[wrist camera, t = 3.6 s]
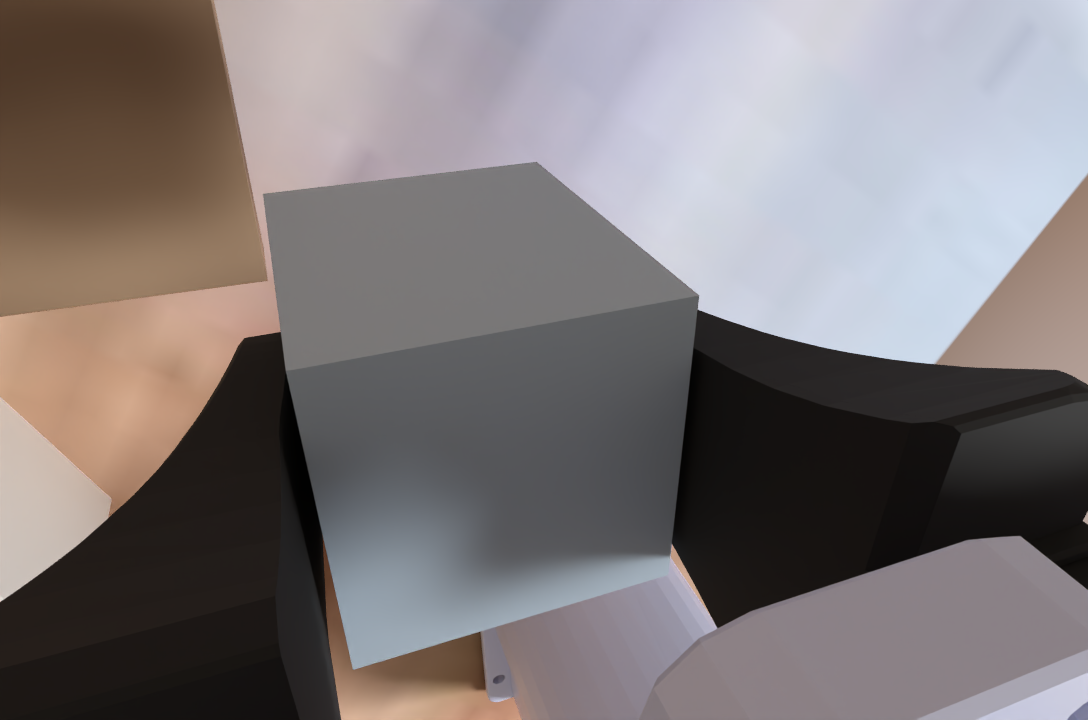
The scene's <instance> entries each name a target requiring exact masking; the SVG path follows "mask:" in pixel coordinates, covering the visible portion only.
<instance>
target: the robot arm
mask: <svg viewBox="0 0 1088 720" xmlns="http://www.w3.org/2000/svg"><path fill="white" fill-rule="evenodd" d="M1087 511H1088V385H1087V384H1086V383H1084V382H1082V381H1080V380H1078V379H1077V378H1075V377H1073V376H1071V375H1069V374H1067V373H1064V372H1061V371H1058V370H1037V369H1035V370H1034V369H1001V368H1000V369H999V368H971V367H958V366H947V365H936V364H924V363H915V362H907V361H899V360H891V359H884V358H878V357H872V356H866V355H860V354H854V353H847V352H842V351H837V350H832V349H827V348H822V347H818V346H814V345H810V344H806V343H802V342H798V341H794V340H790V339H785V338H782V337H778V336H774V335H771V334H767V333H764V332H761V331H758V330H755V329H751V328H748V327H745V326H742V325H739V324H736V323H733V322H730V321H727V320H724V319H721V318H719V317H716V316H713V315H710V314H708V313H705V312H702V311H699V310H697V318H696V328H695V337H694V346H693V355H692V364H691V373H690V382H689V391H688V400H687V409H686V418H685V427H684V436H683V445H682V454H681V464H680V473H679V482H678V491H677V500H676V509H675V518H674V527H673V536H672V544H673V546H674V548H675V550H676V552H677V553H678V555H679V557H680V559H681V561H682V562H683V564H684V566H685V568H686V570H687V572H688V573H689V575H690V577H691V579H692V581H693V583H694V584H695V586H696V588H697V590H698V592H699V594H700V596H701V598H702V599H703V601H704V603H705V605H706V607H707V609H708V611H709V613H710V615H711V616H710V615H709V613H708V612H707V610H706V609H705V607H704V606H703V604H702V603H701V601H700V600H699V598H698V597H697V596H696V594H695V593H694V591H693V590H692V588H691V587H690V585H689V584H688V582H687V581H686V579H685V578H684V576H683V575H682V574H681V572H680V571H679V569H678V568H677V566H676V565H675V563H674V562H673V560H672V559H671V554H670V563H669V572H668V575H666V576H663V577H660V578H656V579H653V580H650V581H646V582H643V583H640V584H636V585H633V586H630V587H626V588H623V589H620V590H616V591H613V592H610V593H607V594H603V595H600V596H597V597H593V598H590V599H587V600H583V601H580V602H577V603H573V604H570V605H567V606H563V607H560V608H557V609H553V610H550V611H547V612H543V613H540V614H537V615H534V616H530V617H527V618H524V619H520V620H517V621H514V622H510V623H507V624H504V625H500V626H497V627H494V628H490V629H487V630H484V631H480V632H481V642H482V653H483V663H484V674H485V685H486V692H487V695H488V698H489V700H490V701H492V702H499V701H503V700H506V699H509V698H512V697H514V699H515V702H516V705H517V707H518V710H519V713H520V716H521V718H522V720H1088V524H1086V523H1085V522H1083V519H1084V517H1085V515H1086V513H1087ZM671 547H672V545H671ZM711 617H712V618H711ZM0 720H341V716H340V710H339V704H338V698H337V691H336V685H335V678H334V672H333V666H332V659H331V653H330V647H329V639H328V628H327V618H326V600H325V579H324V558H323V537H322V530H321V525H320V521H319V516H318V512H317V507H316V503H315V499H314V494H313V490H312V485H311V481H310V476H309V472H308V467H307V463H306V459H305V454H304V450H303V445H302V441H301V436H300V432H299V427H298V423H297V419H296V414H295V410H294V405H293V401H292V396H291V392H290V387H289V383H288V378H287V374H286V368H285V361H284V353H283V345H282V337H281V332H278V333H272V334H266V335H260V336H254V337H248V338H244V339H243V341H242V342H241V343H240V344H239V346H238V347H237V350H236V352H235V354H234V356H233V358H232V360H231V362H230V364H229V366H228V368H227V370H226V372H225V373H224V375H223V377H222V379H221V381H220V382H219V384H218V386H217V388H216V389H215V391H214V392H213V394H212V396H211V397H210V399H209V400H208V402H207V404H206V405H205V407H204V409H203V410H202V412H201V413H200V415H199V416H198V418H197V419H196V421H195V422H194V423H193V425H192V426H191V427H190V429H189V430H188V432H187V433H186V434H185V436H184V437H183V438H182V440H181V441H180V442H179V444H178V445H177V447H176V448H175V449H174V451H173V452H172V453H171V454H170V456H169V457H168V458H167V459H166V461H165V462H164V463H163V464H162V465H161V467H160V468H159V469H158V470H157V471H156V472H155V473H154V474H153V475H152V477H151V478H150V479H149V480H148V481H147V482H146V483H145V484H144V485H143V486H142V487H141V488H140V489H139V490H138V491H137V492H136V493H135V494H134V495H133V496H132V497H131V498H130V499H129V500H128V501H127V502H126V503H125V504H124V505H122V506H121V507H120V508H119V509H118V510H117V511H116V512H115V513H113V514H112V515H111V516H110V517H109V518H108V519H107V520H106V521H104V522H103V523H102V524H101V525H100V526H99V527H98V528H97V529H95V530H94V531H93V532H92V533H91V534H90V535H89V536H88V537H86V538H85V539H84V540H83V541H82V542H81V543H79V544H78V545H77V546H76V547H74V548H73V549H72V550H71V551H69V552H68V553H67V554H65V555H64V556H63V557H62V558H60V559H59V560H58V561H56V562H55V563H54V564H53V565H51V566H50V567H49V568H47V569H46V570H45V571H43V572H42V573H40V574H39V575H38V576H36V577H35V578H33V579H32V580H31V581H29V582H28V583H27V584H25V585H24V586H22V587H21V588H20V589H18V590H17V591H15V592H14V593H13V594H11V595H10V596H8V597H7V598H5V599H4V600H2V601H1V602H0Z"/></svg>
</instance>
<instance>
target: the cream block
mask: <svg viewBox="0 0 1088 720" xmlns="http://www.w3.org/2000/svg"><path fill="white" fill-rule="evenodd" d="M111 500H112V499H111V498H110V497H109V496H108V495H107V494H106V493H105V492H104V491H103V490H102V489H101V488H99V487H98V486H97V485H96V484H95V483H94V482H93V481H92V480H91V479H90V478H89V477H87V476H86V475H85V474H84V473H83V472H82V471H81V470H80V469H79V468H78V467H76V466H75V465H74V464H73V463H72V462H71V461H70V460H69V459H68V458H67V457H66V456H64V455H63V454H62V453H61V452H60V451H59V450H58V449H57V448H56V447H55V446H54V445H52V444H51V443H50V442H49V441H48V440H47V439H46V438H45V437H44V436H43V435H41V434H40V433H39V432H38V431H37V430H36V429H35V428H34V427H33V426H32V425H31V424H29V423H28V422H27V421H26V420H25V419H24V418H23V417H22V416H21V415H20V414H19V413H17V412H16V411H15V410H14V409H13V408H12V407H11V406H10V405H9V404H8V403H6V402H5V401H4V400H3V399H2V398H1V397H0V602H1V601H2V600H4V599H5V598H7V597H8V596H10V595H11V594H13V593H14V592H15V591H17V590H18V589H20V588H21V587H22V586H24V585H25V584H27V583H28V582H29V581H31V580H32V579H33V578H35V577H36V576H38V575H39V574H40V573H42V572H43V571H45V570H46V569H47V568H49V567H50V566H51V565H53V564H54V563H55V562H56V561H58V560H59V559H60V558H62V557H63V556H64V555H65V554H67V553H68V552H69V551H71V550H72V549H73V548H74V547H76V546H77V545H78V544H79V543H81V542H82V541H83V540H84V539H85V538H86V537H88V536H89V535H90V534H91V533H92V532H93V531H94V530H95V529H97V528H98V527H99V526H100V525H101V524H102V523H103V522H104V521H106V520H107V519H108V516H109V511H110V506H111Z"/></svg>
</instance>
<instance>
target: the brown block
mask: <svg viewBox="0 0 1088 720" xmlns="http://www.w3.org/2000/svg"><path fill="white" fill-rule="evenodd" d="M262 281H267V272H266V264H265V256H264V248H263V243H262V238H261V233H260V228H259V223H258V218H257V213H256V209H255V204H254V199H253V194H252V189H251V184H250V179H249V174H248V169H247V164H246V159H245V154H244V149H243V144H242V139H241V134H240V129H239V124H238V119H237V114H236V109H235V104H234V99H233V94H232V89H231V84H230V79H229V74H228V69H227V64H226V59H225V54H224V49H223V44H222V39H221V34H220V29H219V24H218V19H217V14H216V9H215V4H214V0H0V317H3V316H10V315H17V314H25V313H32V312H40V311H47V310H55V309H62V308H69V307H77V306H84V305H92V304H99V303H106V302H114V301H121V300H129V299H136V298H143V297H151V296H158V295H166V294H173V293H181V292H188V291H195V290H203V289H210V288H218V287H225V286H232V285H240V284H247V283H255V282H262Z"/></svg>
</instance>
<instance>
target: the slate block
mask: <svg viewBox="0 0 1088 720" xmlns="http://www.w3.org/2000/svg"><path fill="white" fill-rule="evenodd" d="M263 197H264V205H265V213H266V220H267V228H268V236H269V244H270V252H271V259H272V267H273V275H274V283H275V290H276V298H277V306H278V314H279V322H280V329H281V337H282V345H283V353H284V361H285V368H286V374H287V378H288V383H289V387H290V392H291V396H292V401H293V405H294V410H295V414H296V419H297V423H298V427H299V432H300V436H301V441H302V445H303V450H304V454H305V459H306V463H307V467H308V472H309V476H310V481H311V485H312V490H313V494H314V499H315V503H316V507H317V512H318V516H319V521H320V525H321V530H322V534H323V539H324V543H325V548H326V552H327V556H328V561H329V565H330V570H331V574H332V579H333V583H334V588H335V592H336V596H337V601H338V605H339V610H340V614H341V619H342V623H343V628H344V632H345V636H346V641H347V645H348V650H349V654H350V659H351V663H352V668H353V670H354V669H358V668H361V667H364V666H368V665H371V664H374V663H378V662H381V661H384V660H388V659H391V658H394V657H398V656H401V655H404V654H407V653H411V652H414V651H417V650H421V649H424V648H427V647H431V646H434V645H437V644H441V643H444V642H447V641H451V640H454V639H457V638H461V637H464V636H467V635H471V634H474V633H477V632H480V631H484V630H487V629H490V628H494V627H497V626H500V625H504V624H507V623H510V622H514V621H517V620H520V619H524V618H527V617H530V616H534V615H537V614H540V613H543V612H547V611H550V610H553V609H557V608H560V607H563V606H567V605H570V604H573V603H577V602H580V601H583V600H587V599H590V598H593V597H597V596H600V595H603V594H607V593H610V592H613V591H616V590H620V589H623V588H626V587H630V586H633V585H636V584H640V583H643V582H646V581H650V580H653V579H656V578H660V577H663V576H666V575H668V572H669V563H670V554H671V545H672V536H673V527H674V518H675V509H676V500H677V491H678V482H679V473H680V464H681V454H682V445H683V436H684V427H685V418H686V409H687V400H688V391H689V382H690V373H691V364H692V355H693V346H694V337H695V328H696V318H697V309H698V300H699V295H698V294H697V293H695V292H694V291H693V290H692V289H691V288H689V287H688V286H687V285H686V284H684V283H683V282H682V281H681V280H680V279H678V278H677V277H676V276H675V275H673V274H672V273H671V272H670V271H669V270H667V269H666V268H665V267H664V266H663V265H661V264H660V263H659V262H658V261H656V260H655V259H654V258H653V257H652V256H650V255H649V254H648V253H647V252H645V251H644V250H643V249H642V248H641V247H639V246H638V245H637V244H636V243H635V242H633V241H632V240H631V239H630V238H628V237H627V236H626V235H625V234H624V233H622V232H621V231H620V230H619V229H617V228H616V227H615V226H614V225H613V224H611V223H610V222H609V221H608V220H607V219H605V218H604V217H603V216H602V215H600V214H599V213H598V212H597V211H596V210H594V209H593V208H592V207H591V206H590V205H588V204H587V203H586V202H585V201H583V200H582V199H581V198H580V197H579V196H577V195H576V194H575V193H574V192H572V191H571V190H570V189H569V188H568V187H566V186H565V185H564V184H563V183H562V182H560V181H559V180H558V179H557V178H555V177H554V176H553V175H552V174H551V173H549V172H548V171H547V170H546V169H544V168H543V167H542V166H541V165H540V164H538V163H537V162H533V163H524V164H516V165H507V166H499V167H490V168H481V169H473V170H464V171H456V172H447V173H438V174H430V175H421V176H413V177H404V178H396V179H387V180H378V181H370V182H361V183H353V184H344V185H336V186H327V187H318V188H310V189H301V190H293V191H284V192H276V193H267V194H263Z"/></svg>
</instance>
